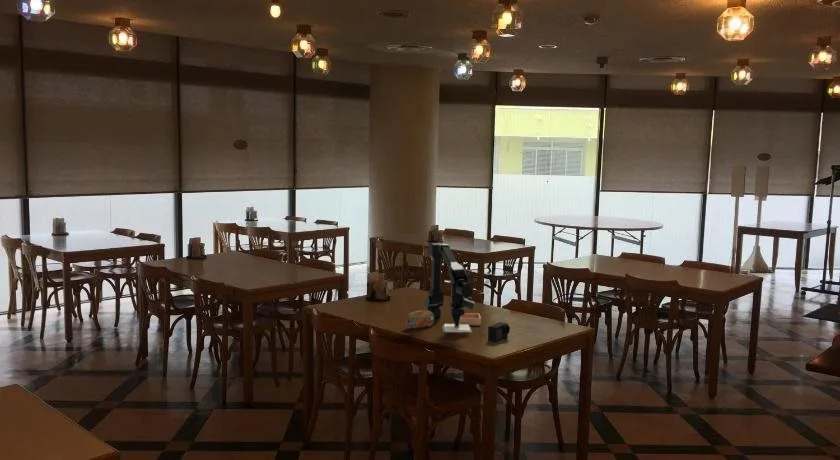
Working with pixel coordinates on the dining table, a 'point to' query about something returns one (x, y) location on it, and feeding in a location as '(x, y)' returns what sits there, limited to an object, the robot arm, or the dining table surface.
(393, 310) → the dining table surface
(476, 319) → the dish
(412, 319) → the tin
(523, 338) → the dining table surface
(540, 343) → the dining table surface
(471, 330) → the mat
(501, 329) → the digital camera
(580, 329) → the dining table surface
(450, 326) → the lid
